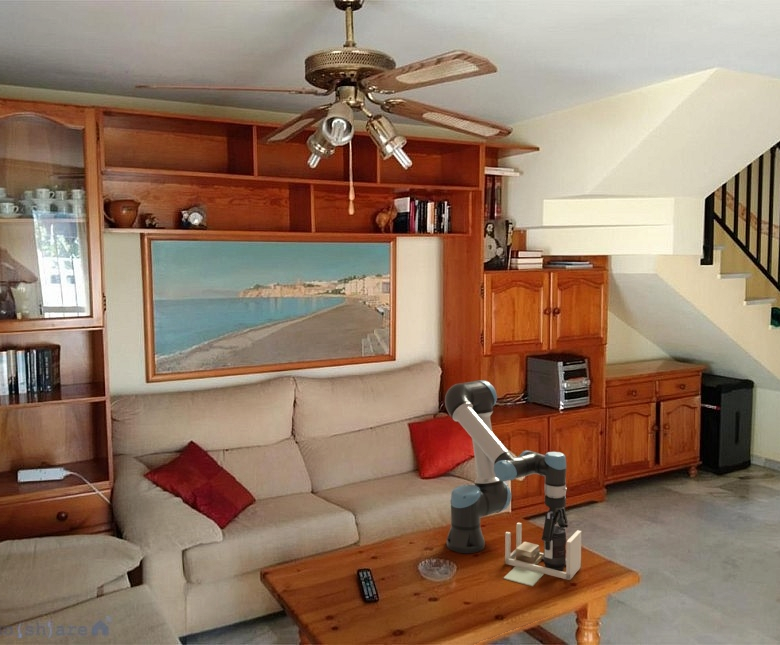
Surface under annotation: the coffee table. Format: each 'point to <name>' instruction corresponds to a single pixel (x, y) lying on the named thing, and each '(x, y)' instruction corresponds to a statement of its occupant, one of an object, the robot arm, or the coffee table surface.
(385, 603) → the coffee table surface
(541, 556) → the plate
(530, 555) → the offcut top
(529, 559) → the offcut middle
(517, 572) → the mat
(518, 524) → the rack
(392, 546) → the coffee table surface
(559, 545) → the camera lens
